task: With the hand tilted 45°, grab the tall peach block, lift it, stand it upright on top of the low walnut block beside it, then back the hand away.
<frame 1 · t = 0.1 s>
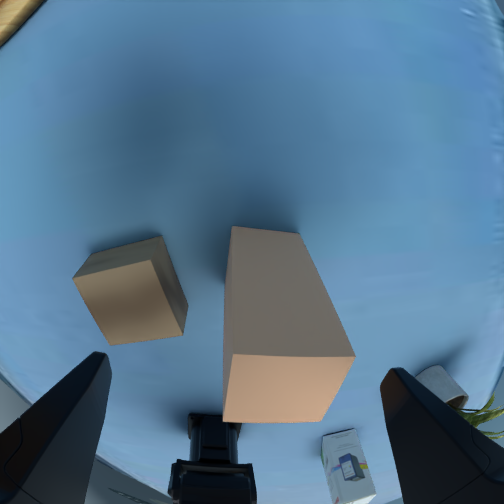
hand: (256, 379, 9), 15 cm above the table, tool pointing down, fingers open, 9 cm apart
walnut block: (139, 278, 24), on the table
house plant: (427, 381, 34), on the table
peach block: (260, 259, 23), on the table
ink box: (337, 442, 39), on the table
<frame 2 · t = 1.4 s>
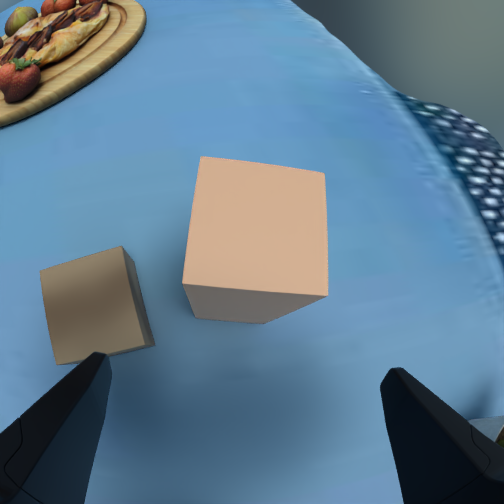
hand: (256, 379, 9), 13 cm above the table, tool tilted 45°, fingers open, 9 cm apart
walnut block: (105, 313, 21), on the table
wooden plate with food: (45, 53, 29), on the table
house plant: (468, 447, 21), on the table
peach block: (232, 288, 23), on the table
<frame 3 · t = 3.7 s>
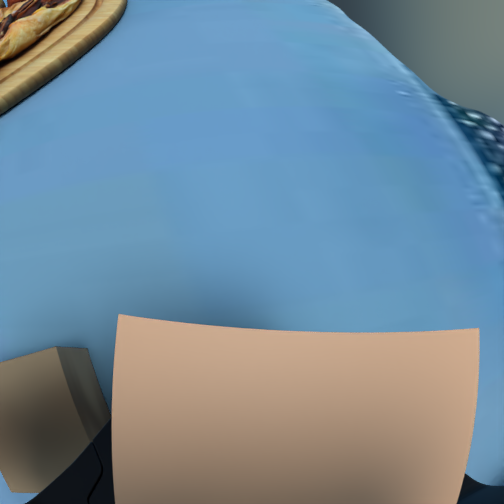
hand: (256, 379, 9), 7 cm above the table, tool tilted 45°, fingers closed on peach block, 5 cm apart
walnut block: (61, 416, 12), on the table
wooden plate with food: (9, 50, 21), on the table
peach block: (233, 392, 14), on the table, touching gripper
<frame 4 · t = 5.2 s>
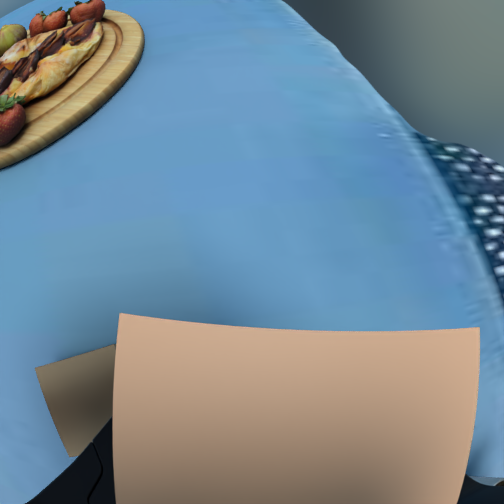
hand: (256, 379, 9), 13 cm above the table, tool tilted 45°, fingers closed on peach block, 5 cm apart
walnut block: (106, 396, 19), on the table
wooden plate with food: (35, 79, 28), on the table
house plant: (456, 499, 19), on the table
peach block: (234, 392, 14), point 7 cm above the table, touching gripper
when the fingers open (12 cm above the table, at t = 6.7 s): peach block drops 1 cm, resting on walnut block.
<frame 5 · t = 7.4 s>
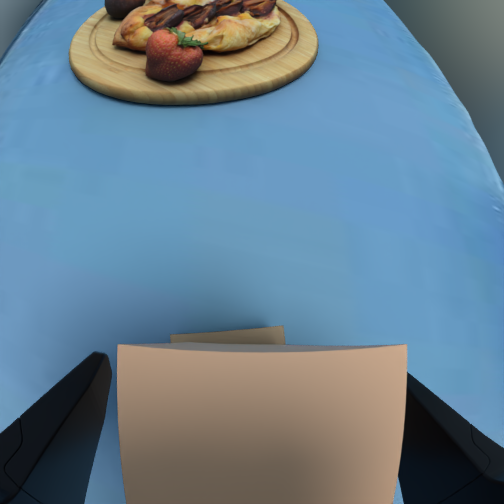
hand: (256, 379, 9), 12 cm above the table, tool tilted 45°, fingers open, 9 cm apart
walnut block: (228, 379, 20), on the table, touching peach block
wooden plate with food: (193, 32, 31), on the table
peach block: (232, 387, 16), point 4 cm above the table, touching walnut block
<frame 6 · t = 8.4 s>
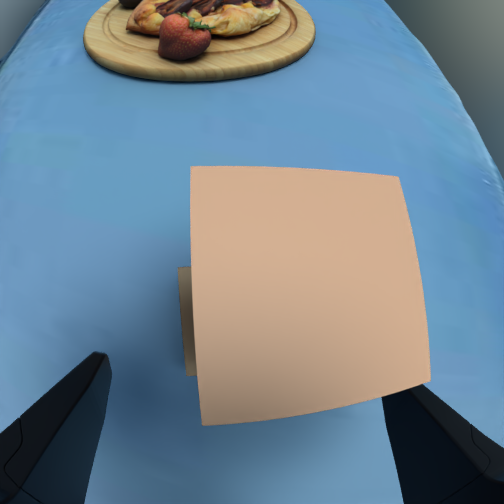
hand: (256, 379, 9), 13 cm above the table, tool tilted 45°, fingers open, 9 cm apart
walnut block: (231, 322, 22), on the table, touching peach block
wooden plate with food: (199, 21, 33), on the table
peach block: (241, 320, 18), point 4 cm above the table, touching walnut block
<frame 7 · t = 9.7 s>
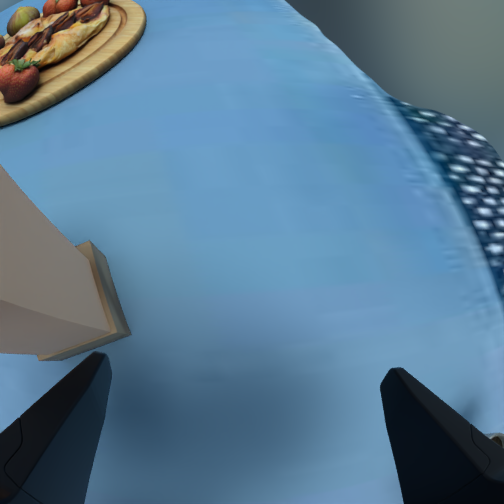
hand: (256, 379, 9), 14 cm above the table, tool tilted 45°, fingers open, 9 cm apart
walnut block: (82, 309, 21), on the table
wooden plate with food: (46, 54, 30), on the table
peach block: (67, 307, 17), point 4 cm above the table
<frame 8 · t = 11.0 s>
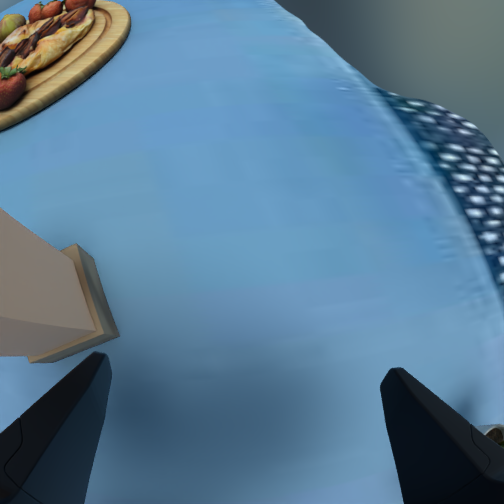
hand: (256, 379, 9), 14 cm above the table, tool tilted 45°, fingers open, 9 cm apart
walnut block: (72, 311, 21), on the table
wooden plate with food: (33, 60, 29), on the table
house plant: (449, 456, 21), on the table
peach block: (54, 308, 17), point 4 cm above the table
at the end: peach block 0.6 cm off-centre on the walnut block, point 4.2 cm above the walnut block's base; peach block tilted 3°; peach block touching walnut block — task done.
